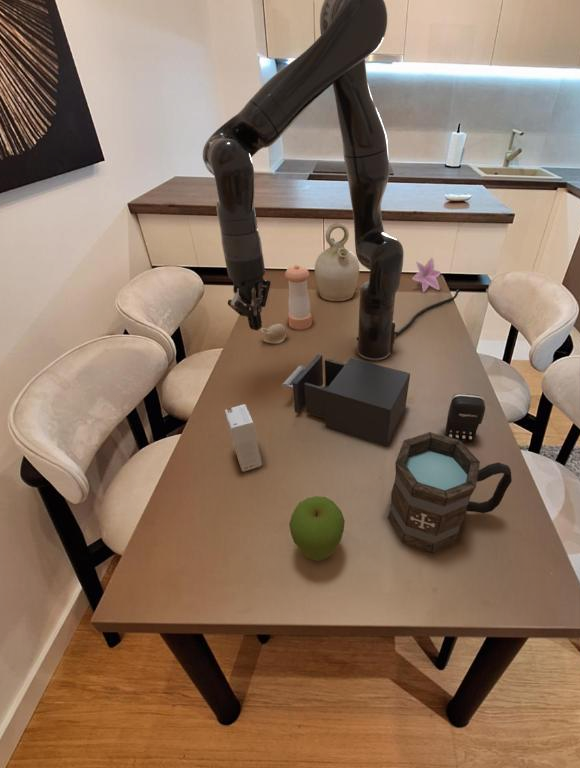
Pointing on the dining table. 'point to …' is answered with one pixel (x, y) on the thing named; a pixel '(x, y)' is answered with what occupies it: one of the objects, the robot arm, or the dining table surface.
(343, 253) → the jug
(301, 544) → the apple
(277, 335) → the decorative ornament
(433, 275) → the lily
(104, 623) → the dining table surface
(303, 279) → the salt shaker
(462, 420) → the battery charger
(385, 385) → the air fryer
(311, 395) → the drawer
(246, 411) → the cosmetic box
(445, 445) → the mug
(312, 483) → the dining table surface
